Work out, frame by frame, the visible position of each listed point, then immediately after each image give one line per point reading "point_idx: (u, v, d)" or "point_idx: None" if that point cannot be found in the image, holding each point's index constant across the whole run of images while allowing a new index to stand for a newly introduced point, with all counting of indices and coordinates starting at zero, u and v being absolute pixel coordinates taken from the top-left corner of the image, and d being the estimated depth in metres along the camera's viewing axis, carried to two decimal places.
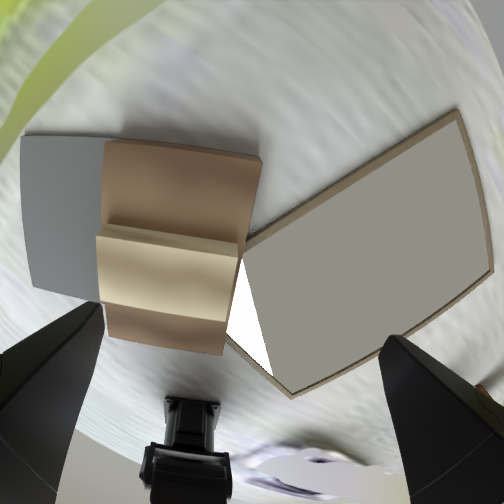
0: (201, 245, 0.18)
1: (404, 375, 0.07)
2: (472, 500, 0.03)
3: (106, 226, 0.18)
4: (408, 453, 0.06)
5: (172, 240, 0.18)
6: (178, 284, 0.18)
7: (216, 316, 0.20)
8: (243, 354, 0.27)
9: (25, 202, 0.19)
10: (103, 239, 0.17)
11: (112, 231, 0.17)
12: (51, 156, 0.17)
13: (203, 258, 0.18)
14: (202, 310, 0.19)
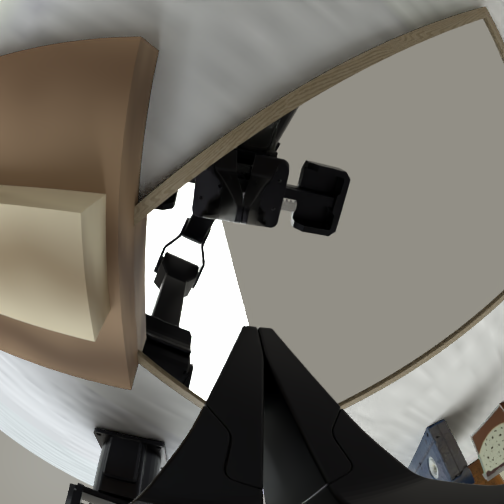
0: (38, 197, 0.08)
1: None
2: None
3: None
4: (268, 473, 0.06)
5: (4, 193, 0.08)
6: (11, 269, 0.08)
7: (78, 330, 0.09)
8: (175, 386, 0.17)
9: None
10: None
11: None
12: None
13: (30, 218, 0.07)
14: (55, 318, 0.09)
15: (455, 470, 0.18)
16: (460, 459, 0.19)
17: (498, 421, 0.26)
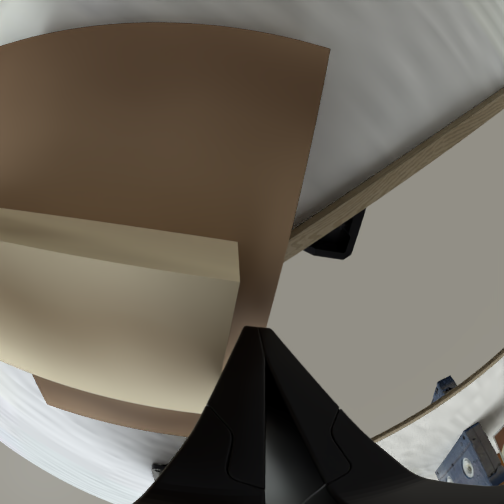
0: (141, 246, 0.07)
1: None
2: None
3: None
4: (267, 473, 0.06)
5: (74, 234, 0.06)
6: (94, 342, 0.07)
7: (193, 406, 0.08)
8: None
9: None
10: None
11: None
12: None
13: (141, 283, 0.06)
14: (159, 395, 0.08)
15: (491, 468, 0.17)
16: (495, 457, 0.17)
17: None
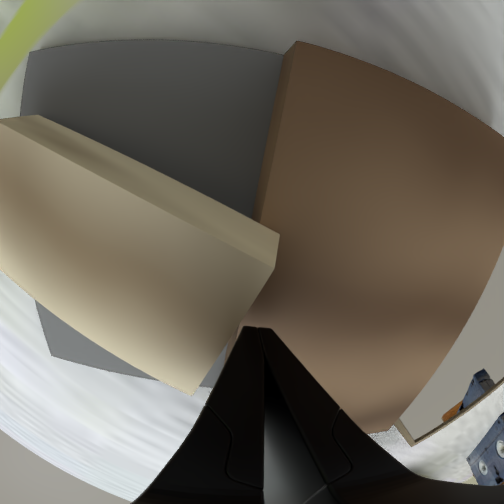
0: (188, 204, 0.07)
1: None
2: None
3: (31, 116, 0.07)
4: (268, 473, 0.06)
5: (125, 170, 0.07)
6: (104, 282, 0.07)
7: (176, 380, 0.08)
8: None
9: None
10: (1, 130, 0.05)
11: (28, 123, 0.06)
12: (99, 86, 0.07)
13: (176, 236, 0.06)
14: (147, 358, 0.08)
15: None
16: None
17: None
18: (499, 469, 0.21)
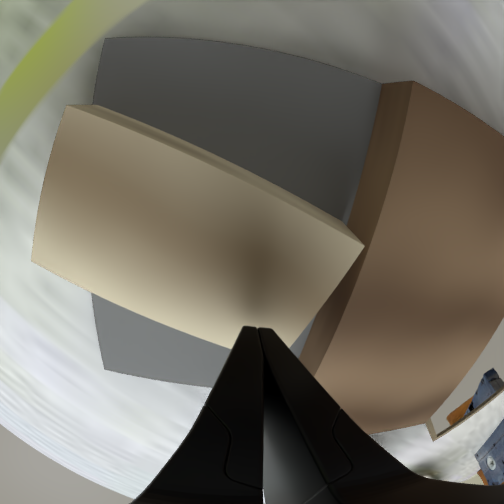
0: (292, 199, 0.08)
1: None
2: None
3: (94, 106, 0.07)
4: (268, 473, 0.06)
5: (233, 169, 0.08)
6: (216, 270, 0.08)
7: None
8: None
9: None
10: (79, 117, 0.06)
11: (104, 113, 0.07)
12: (199, 88, 0.08)
13: (299, 226, 0.08)
14: None
15: None
16: None
17: None
18: None
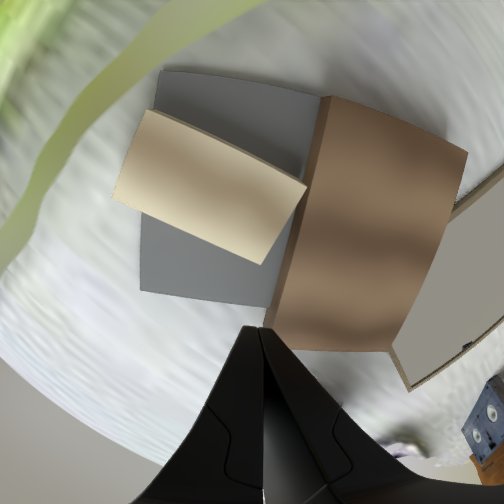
0: (266, 163, 0.15)
1: None
2: None
3: (156, 110, 0.14)
4: (268, 473, 0.06)
5: (234, 147, 0.15)
6: (225, 199, 0.15)
7: (253, 254, 0.16)
8: (390, 349, 0.24)
9: None
10: (154, 116, 0.13)
11: (164, 115, 0.14)
12: (216, 103, 0.14)
13: (269, 174, 0.14)
14: (239, 242, 0.16)
15: None
16: None
17: None
18: (491, 434, 0.28)
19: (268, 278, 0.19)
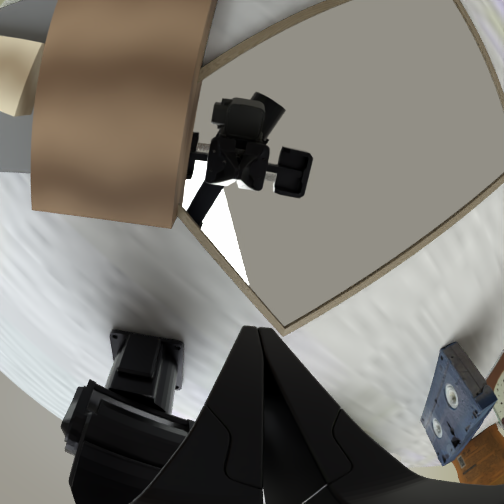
0: None
1: None
2: None
3: None
4: (268, 473, 0.06)
5: None
6: None
7: (10, 108, 0.12)
8: (208, 246, 0.20)
9: None
10: None
11: None
12: (16, 18, 0.10)
13: (20, 44, 0.10)
14: (2, 101, 0.12)
15: (475, 387, 0.21)
16: (478, 376, 0.22)
17: None
18: (453, 426, 0.24)
19: None
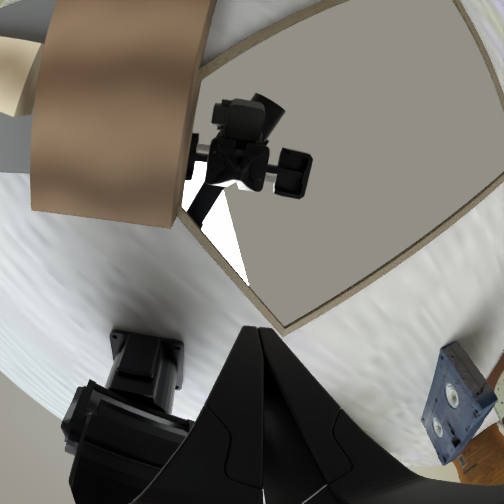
0: None
1: None
2: None
3: None
4: (268, 473, 0.06)
5: None
6: None
7: (9, 109, 0.12)
8: (207, 246, 0.19)
9: None
10: None
11: None
12: (15, 18, 0.10)
13: (19, 45, 0.10)
14: (2, 101, 0.12)
15: (476, 387, 0.21)
16: (479, 376, 0.22)
17: None
18: (453, 425, 0.24)
19: None
